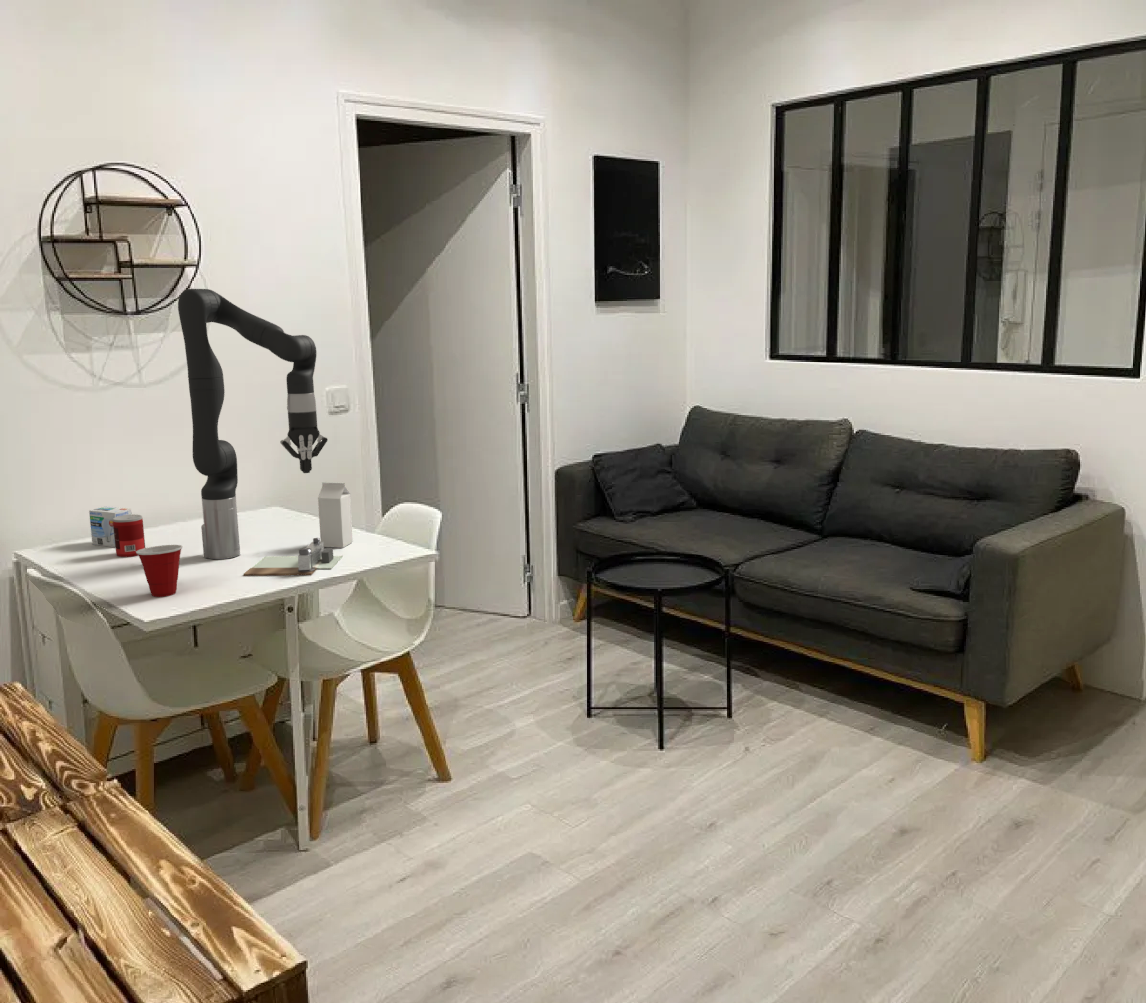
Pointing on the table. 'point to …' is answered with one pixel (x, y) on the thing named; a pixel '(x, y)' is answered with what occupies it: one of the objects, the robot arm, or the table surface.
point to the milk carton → (335, 515)
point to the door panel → (292, 562)
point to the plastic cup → (161, 568)
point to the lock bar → (310, 554)
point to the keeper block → (327, 555)
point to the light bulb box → (105, 524)
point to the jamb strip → (278, 571)
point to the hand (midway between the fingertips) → (306, 472)
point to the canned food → (128, 535)
